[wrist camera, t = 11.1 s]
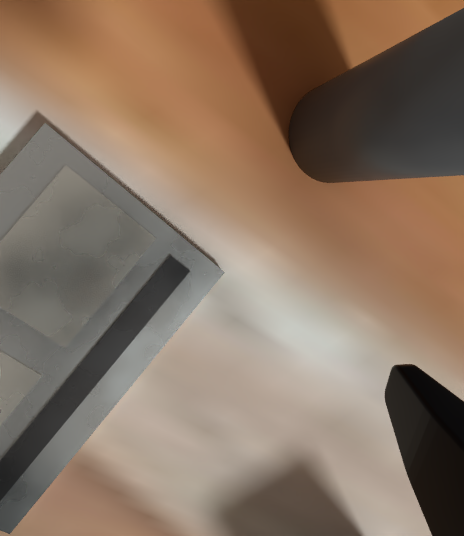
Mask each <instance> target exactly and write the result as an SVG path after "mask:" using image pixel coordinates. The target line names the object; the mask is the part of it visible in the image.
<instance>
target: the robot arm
mask: <svg viewBox="0 0 464 536" xmlns="http://www.w3.org/2000/svg"><path fill="white" fill-rule="evenodd" d="M385 402H386V406H387V409H388V412H389V416H390V419H391V422H392V426H393V429H394V433H395V436H396V439H397V443H398V446H399V449H400V453H401V456H402V459H403V463H404V466H405V469H406V472H407V475H408V478H409V480H410V483H411V485H412V488H413V490H414V493H415V495H416V497H417V500H418V502H419V505H420V507H421V510H422V512H423V514H424V517H425V519H426V522H427V524H428V527H429V529H430V531H431V534H432V536H464V401H462V400H461V399H460V398H458V397H457V396H456V395H454V394H453V393H452V392H450V391H449V390H448V389H446V388H445V387H444V386H442V385H441V384H440V383H438V382H437V381H436V380H434V379H433V378H432V377H430V376H429V375H428V374H426V373H425V372H424V371H422V370H421V369H420V368H418V367H417V366H415V365H412V364H403V365H394V366H393V367H392V369H391V372H390V376H389V379H388V382H387V386H386V389H385Z"/></svg>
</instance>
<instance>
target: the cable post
mask: <svg viewBox="0 0 464 536" xmlns="http://www.w3.org/2000/svg"><path fill="white" fill-rule="evenodd" d="M289 144H290V148H291V152H292V155H293V157H294V159H295V161H296V163H297V164H298V166H299V167H300V168H301V169H302V171H303V172H304V173H306V174H307V175H308V176H310V177H311V178H313V179H315V180H317V181H320V182H326V183H337V182H354V181H371V180H388V179H405V178H422V177H439V176H456V175H464V8H463V9H461V10H459V11H457V12H456V13H454V14H452V15H450V16H448V17H446V18H444V19H443V20H441V21H439V22H437V23H435V24H433V25H432V26H430V27H428V28H426V29H424V30H422V31H420V32H419V33H417V34H415V35H413V36H411V37H409V38H408V39H406V40H404V41H402V42H400V43H398V44H396V45H395V46H393V47H391V48H389V49H387V50H385V51H384V52H382V53H380V54H378V55H376V56H374V57H372V58H371V59H369V60H367V61H365V62H363V63H361V64H360V65H358V66H356V67H354V68H352V69H350V70H348V71H347V72H345V73H343V74H341V75H339V76H337V77H336V78H334V79H332V80H330V81H328V82H326V83H324V84H323V85H321V86H319V87H317V88H315V89H313V90H312V91H310V92H309V93H307V94H306V95H305V96H304V97H303V98H302V99H301V100H300V102H299V103H298V104H297V106H296V108H295V110H294V112H293V114H292V117H291V121H290V125H289Z"/></svg>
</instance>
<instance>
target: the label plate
mask: <svg viewBox="0 0 464 536" xmlns="http://www.w3.org/2000/svg"><path fill="white" fill-rule="evenodd" d="M223 274H224V271H223V270H221V269H220V268H219V267H218V266H217V265H215V264H214V263H213V262H212V261H211V260H209V259H208V258H207V257H206V256H205V255H203V254H202V253H201V252H200V251H199V250H197V249H196V248H195V247H194V246H193V245H191V244H190V243H189V242H188V241H187V240H185V239H184V238H183V237H182V236H181V235H179V234H178V233H177V232H176V231H175V230H173V229H172V228H171V227H170V226H169V225H167V224H166V223H165V222H164V221H163V220H161V219H160V218H159V217H158V216H156V215H155V214H154V213H153V212H152V211H150V210H149V209H148V208H147V207H146V206H144V205H143V204H142V203H141V202H140V201H138V200H137V199H136V198H135V197H134V196H132V195H131V194H130V193H129V192H128V191H126V190H125V189H124V188H123V187H122V186H120V185H119V184H118V183H117V182H116V181H114V180H113V179H112V178H111V177H110V176H108V175H107V174H106V173H105V172H104V171H102V170H101V169H100V168H99V167H98V166H96V165H95V164H94V163H93V162H92V161H90V160H89V159H88V158H87V157H86V156H84V155H83V154H82V153H81V152H80V151H78V150H77V149H76V148H75V147H74V146H72V145H71V144H70V143H69V142H68V141H66V140H65V139H64V138H63V137H62V136H60V135H59V134H58V133H57V132H56V131H54V130H53V129H52V128H51V127H50V126H48V125H47V124H46V123H44V125H43V126H42V127H41V128H40V129H39V130H38V131H37V133H36V134H35V135H34V136H33V137H32V138H31V140H30V141H29V142H28V143H27V144H26V145H25V147H24V148H23V149H22V150H21V151H20V152H19V153H18V155H17V156H16V157H15V158H14V159H13V160H12V162H11V163H10V164H9V165H8V166H7V167H6V169H5V170H4V171H3V172H2V173H1V174H0V530H1V531H4V532H6V533H8V534H10V533H11V532H12V531H13V529H14V528H15V527H16V526H17V525H18V523H19V522H20V521H21V520H22V518H23V517H24V516H25V515H26V514H27V512H28V511H29V510H30V509H31V508H32V506H33V505H34V504H35V503H36V501H37V500H38V499H39V498H40V497H41V495H42V494H43V493H44V492H45V490H46V489H47V488H48V487H49V486H50V484H51V483H52V482H53V481H54V480H55V478H56V477H57V476H58V475H59V473H60V472H61V471H62V470H63V469H64V467H65V466H66V465H67V464H68V462H69V461H70V460H71V459H72V458H73V456H74V455H75V454H76V453H77V452H78V450H79V449H80V448H81V447H82V445H83V444H84V443H85V442H86V441H87V439H88V438H89V437H90V436H91V434H92V433H93V432H94V431H95V430H96V428H97V427H98V426H99V425H100V423H101V422H102V421H103V420H104V419H105V417H106V416H107V415H108V414H109V413H110V411H111V410H112V409H113V408H114V406H115V405H116V404H117V403H118V402H119V400H120V399H121V398H122V397H123V395H124V394H125V393H126V392H127V391H128V389H129V388H130V387H131V386H132V385H133V383H134V382H135V381H136V380H137V378H138V377H139V376H140V375H141V374H142V372H143V371H144V370H145V369H146V367H147V366H148V365H149V364H150V363H151V361H152V360H153V359H154V358H155V357H156V355H157V354H158V353H159V352H160V350H161V349H162V348H163V347H164V346H165V344H166V343H167V342H168V341H169V339H170V338H171V337H172V336H173V335H174V333H175V332H176V331H177V330H178V328H179V327H180V326H181V325H182V324H183V322H184V321H185V320H186V319H187V318H188V316H189V315H190V314H191V313H192V311H193V310H194V309H195V308H196V307H197V305H198V304H199V303H200V302H201V300H202V299H203V298H204V297H205V296H206V294H207V293H208V292H209V291H210V290H211V288H212V287H213V286H214V285H215V283H216V282H217V281H218V280H219V279H220V277H221V276H222V275H223Z"/></svg>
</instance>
